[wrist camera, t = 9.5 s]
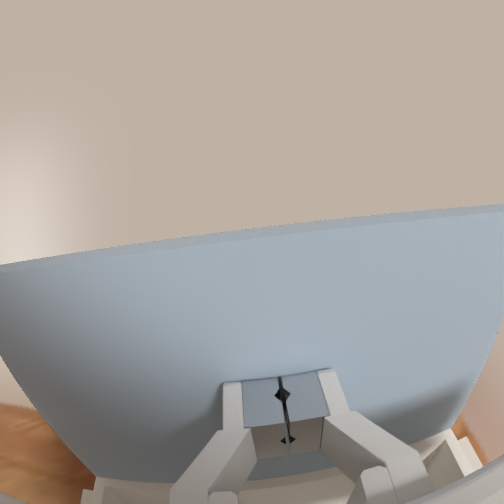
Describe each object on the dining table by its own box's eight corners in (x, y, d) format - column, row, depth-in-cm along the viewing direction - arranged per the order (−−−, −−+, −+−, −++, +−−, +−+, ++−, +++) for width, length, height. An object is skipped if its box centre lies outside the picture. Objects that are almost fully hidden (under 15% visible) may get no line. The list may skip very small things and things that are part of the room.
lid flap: (530, 208, 7) (518, 202, 7) (-38, 278, 6) (-27, 269, 7) (451, 428, 11) (446, 419, 12) (95, 476, 11) (98, 466, 11)
